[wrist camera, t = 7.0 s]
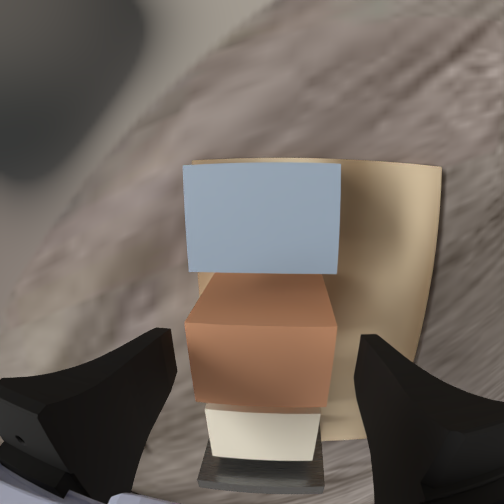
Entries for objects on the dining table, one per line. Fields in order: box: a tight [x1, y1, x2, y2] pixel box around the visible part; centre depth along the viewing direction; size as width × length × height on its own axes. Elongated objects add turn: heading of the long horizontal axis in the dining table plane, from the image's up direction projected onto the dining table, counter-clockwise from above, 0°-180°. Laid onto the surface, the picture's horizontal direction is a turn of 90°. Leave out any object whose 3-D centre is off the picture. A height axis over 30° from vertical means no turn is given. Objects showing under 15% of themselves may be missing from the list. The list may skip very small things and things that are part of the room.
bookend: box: [197, 421, 324, 494], centre depth 16 cm, size 6×2×6 cm, turn 91°
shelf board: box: [192, 158, 442, 441], centre depth 16 cm, size 12×18×1 cm
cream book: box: [205, 403, 321, 461], centre depth 15 cm, size 5×4×4 cm
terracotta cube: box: [185, 272, 337, 407], centre depth 13 cm, size 5×4×6 cm
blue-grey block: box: [183, 162, 341, 274], centre depth 12 cm, size 5×4×4 cm
